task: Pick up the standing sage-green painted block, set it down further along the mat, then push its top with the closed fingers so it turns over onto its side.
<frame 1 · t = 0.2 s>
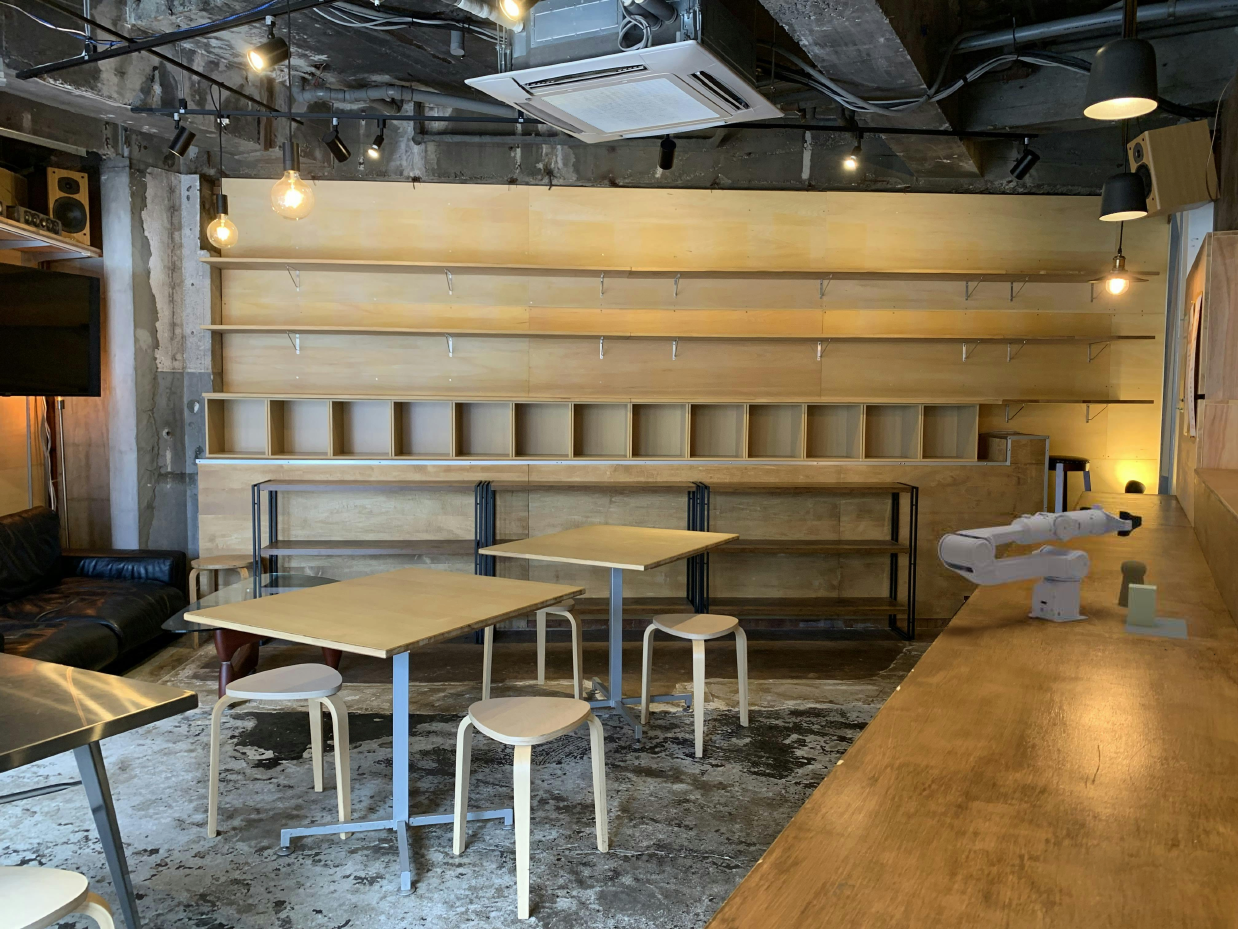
hand: (1124, 519, 203), 21 cm above the table, tool horizontal, fingers open, 7 cm apart
mat: (1155, 628, 188), on the table
block: (1141, 623, 189), point 1 cm above the table, touching mat
cork: (1132, 609, 207), on the table
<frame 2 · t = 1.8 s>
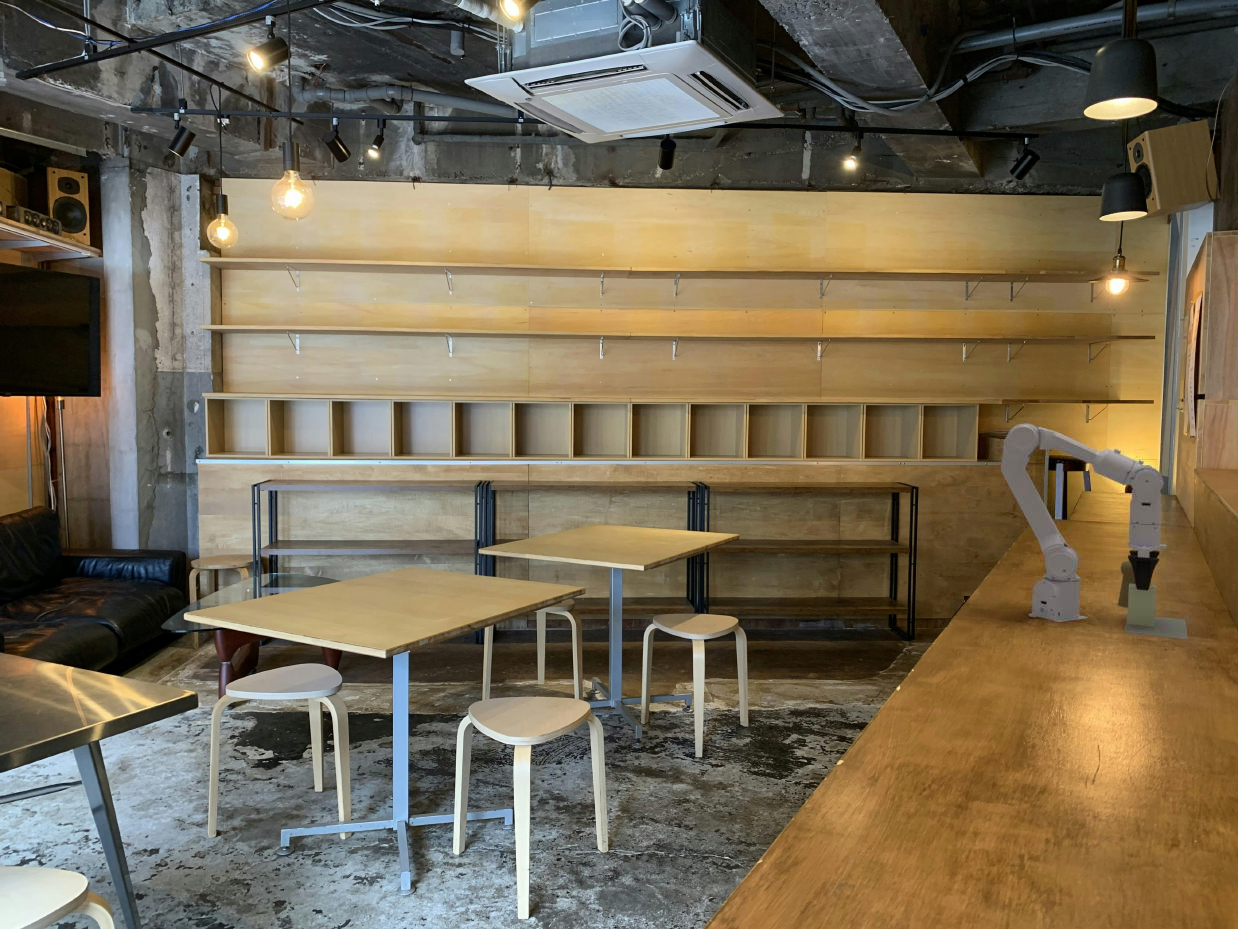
hand: (1142, 586, 189), 9 cm above the table, tool pointing down, fingers open, 7 cm apart
nothing on the table moved.
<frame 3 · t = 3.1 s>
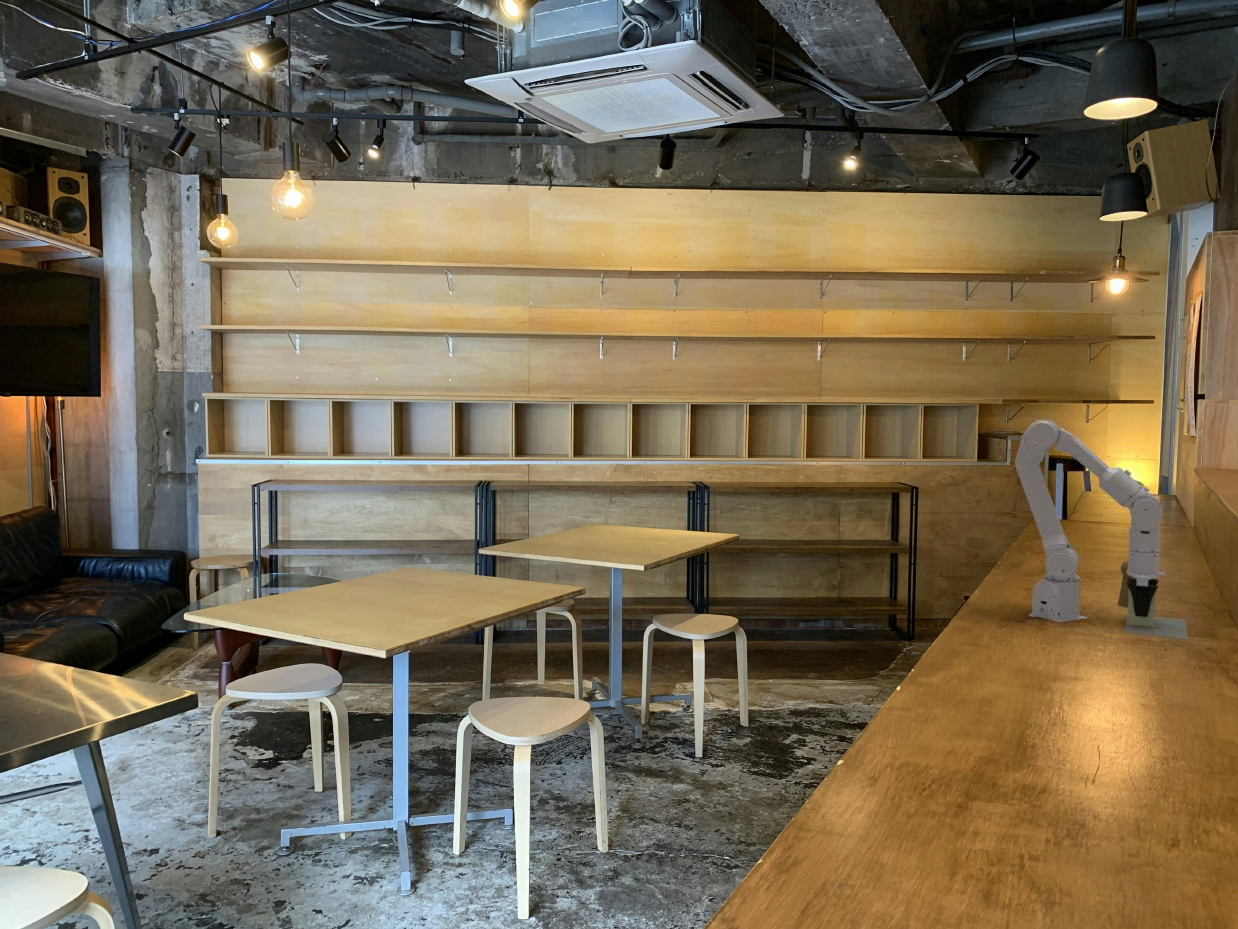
hand: (1141, 614, 189), 3 cm above the table, tool pointing down, fingers closed on block, 4 cm apart
block: (1141, 623, 189), point 1 cm above the table, touching gripper, mat
everything else where it was.
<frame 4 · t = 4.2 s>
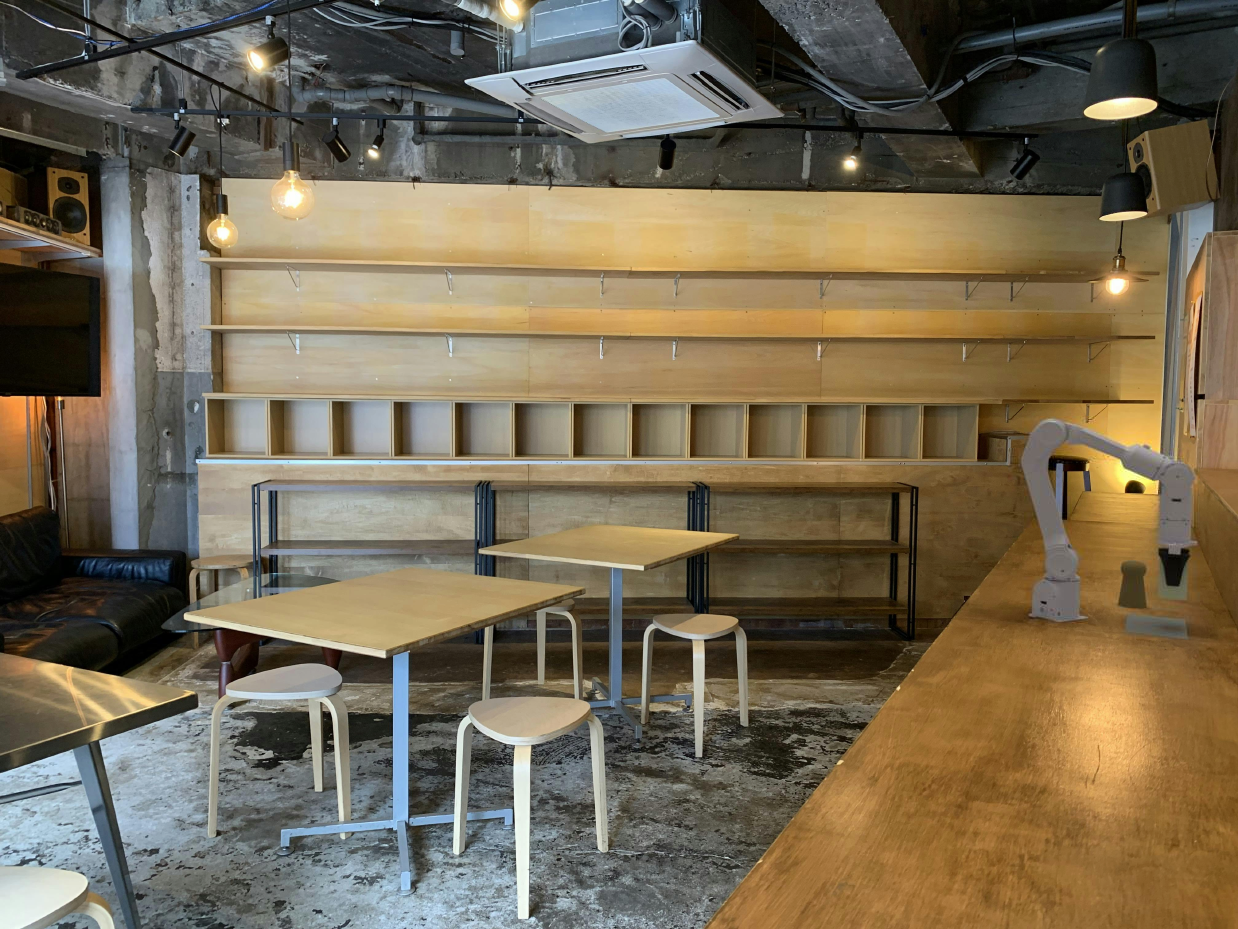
hand: (1172, 584, 186), 10 cm above the table, tool pointing down, fingers closed on block, 4 cm apart
block: (1172, 597, 186), point 7 cm above the table, touching gripper
everything else where it was.
when the fingers open (3 cm above the table, at t = 5.8 s): block stays where it is, resting on mat.
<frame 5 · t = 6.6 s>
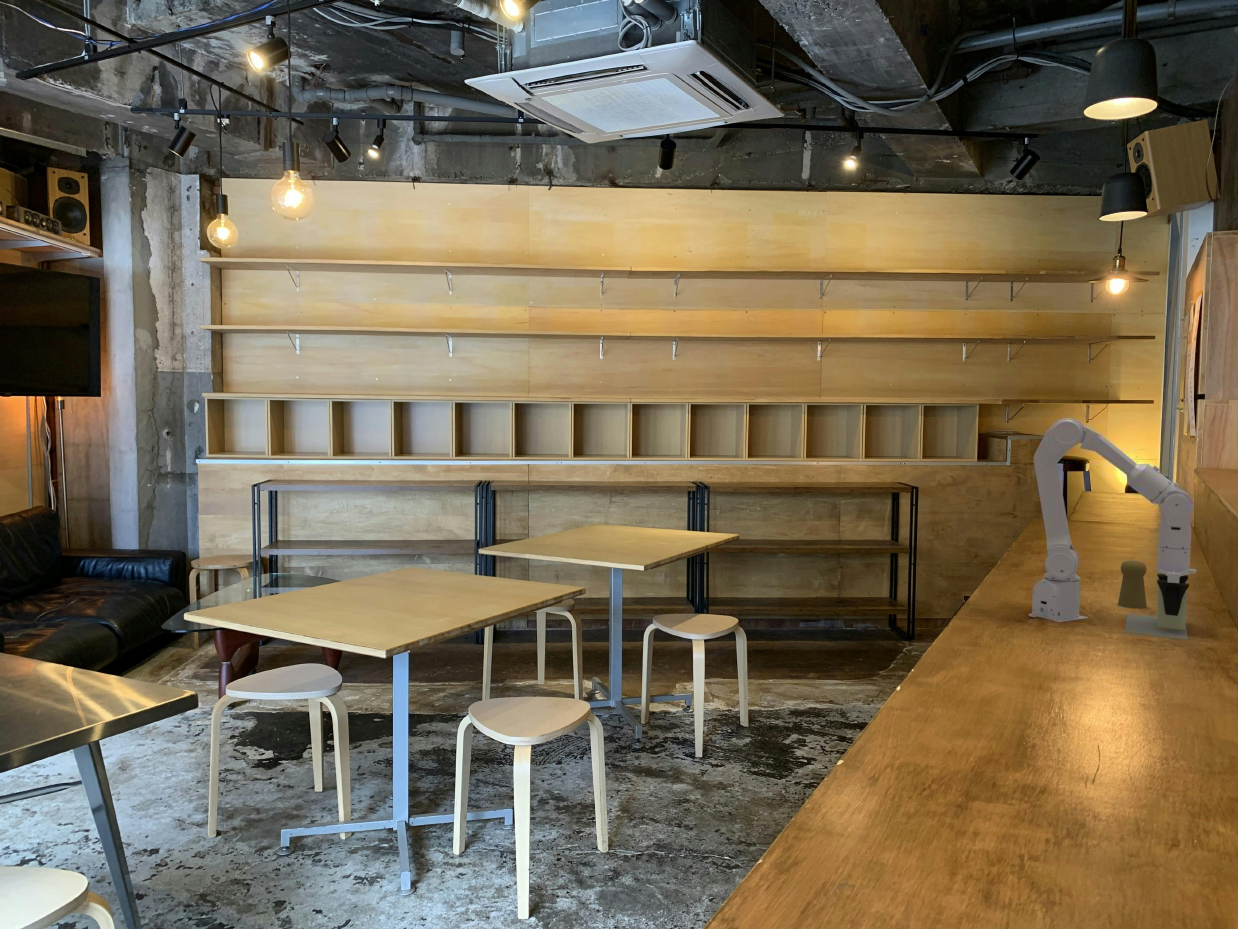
hand: (1171, 611, 186), 4 cm above the table, tool pointing down, fingers open, 7 cm apart
block: (1171, 626, 187), point 1 cm above the table, touching mat
everything else where it was.
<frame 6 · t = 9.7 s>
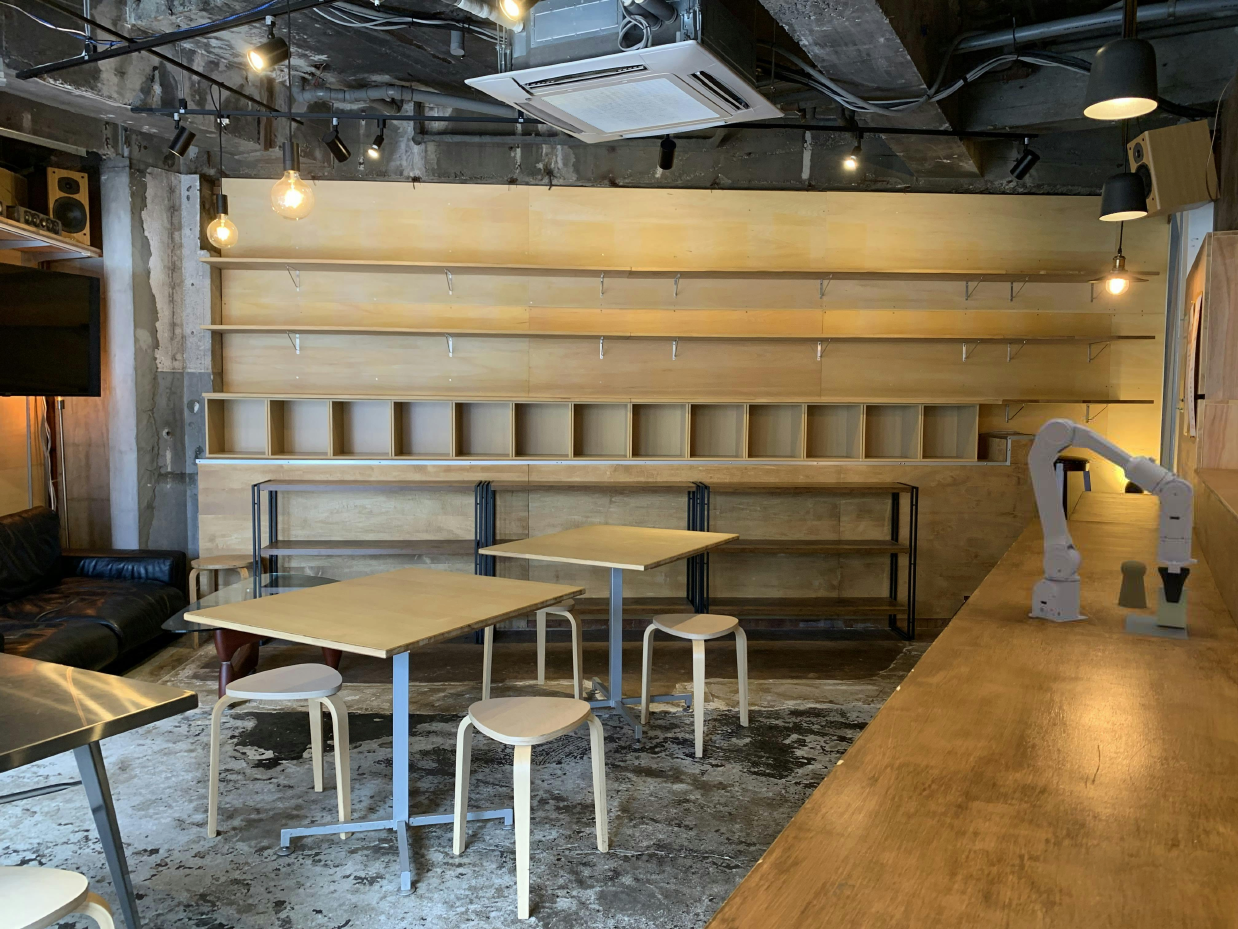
hand: (1172, 602, 184), 6 cm above the table, tool pointing down, fingers closed
block: (1171, 625, 187), point 1 cm above the table, tilted 8°, touching mat
everything else where it was.
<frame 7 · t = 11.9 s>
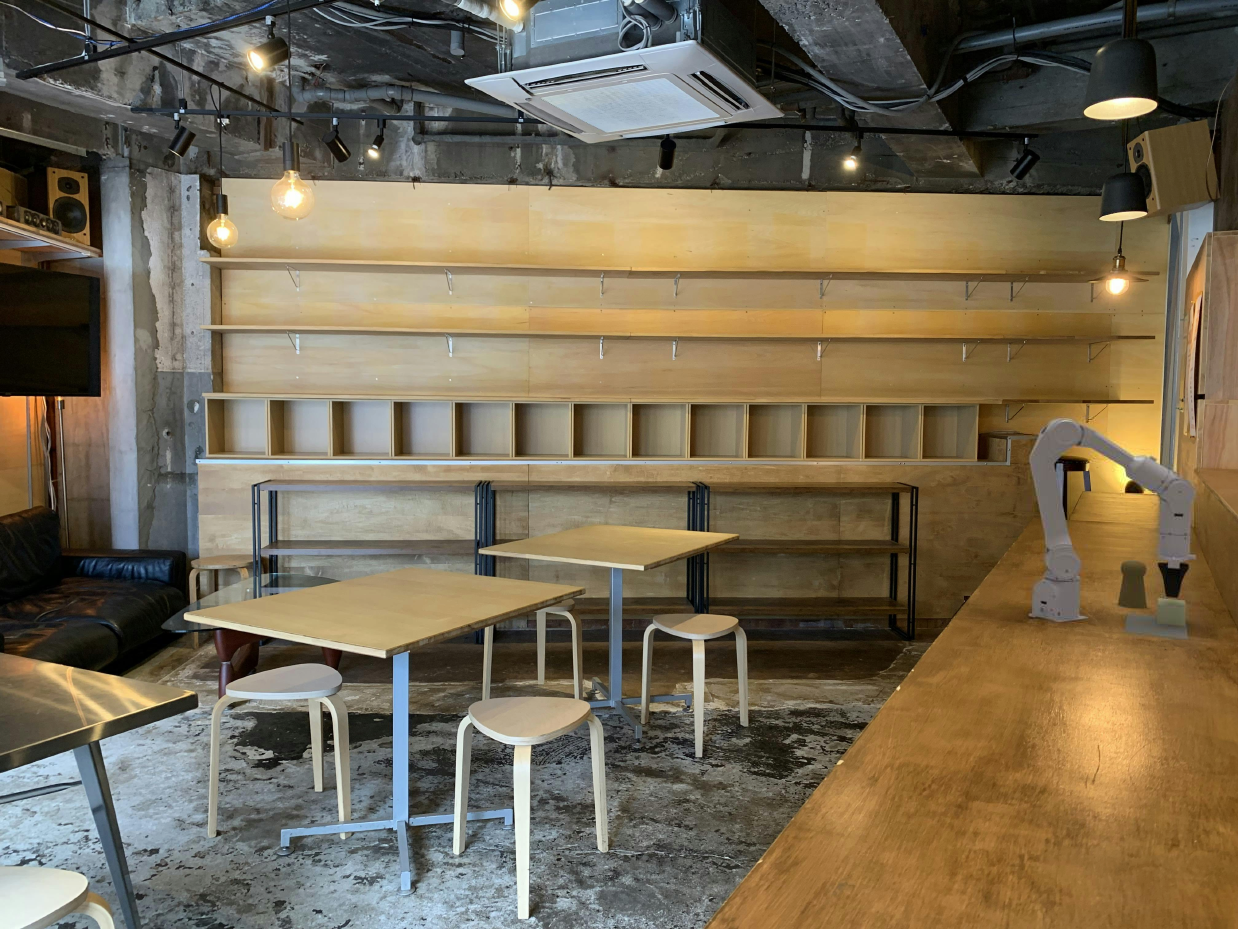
hand: (1171, 597, 190), 6 cm above the table, tool pointing down, fingers closed
block: (1171, 615, 188), point 3 cm above the table, tilted 90°, touching mat
everything else where it was.
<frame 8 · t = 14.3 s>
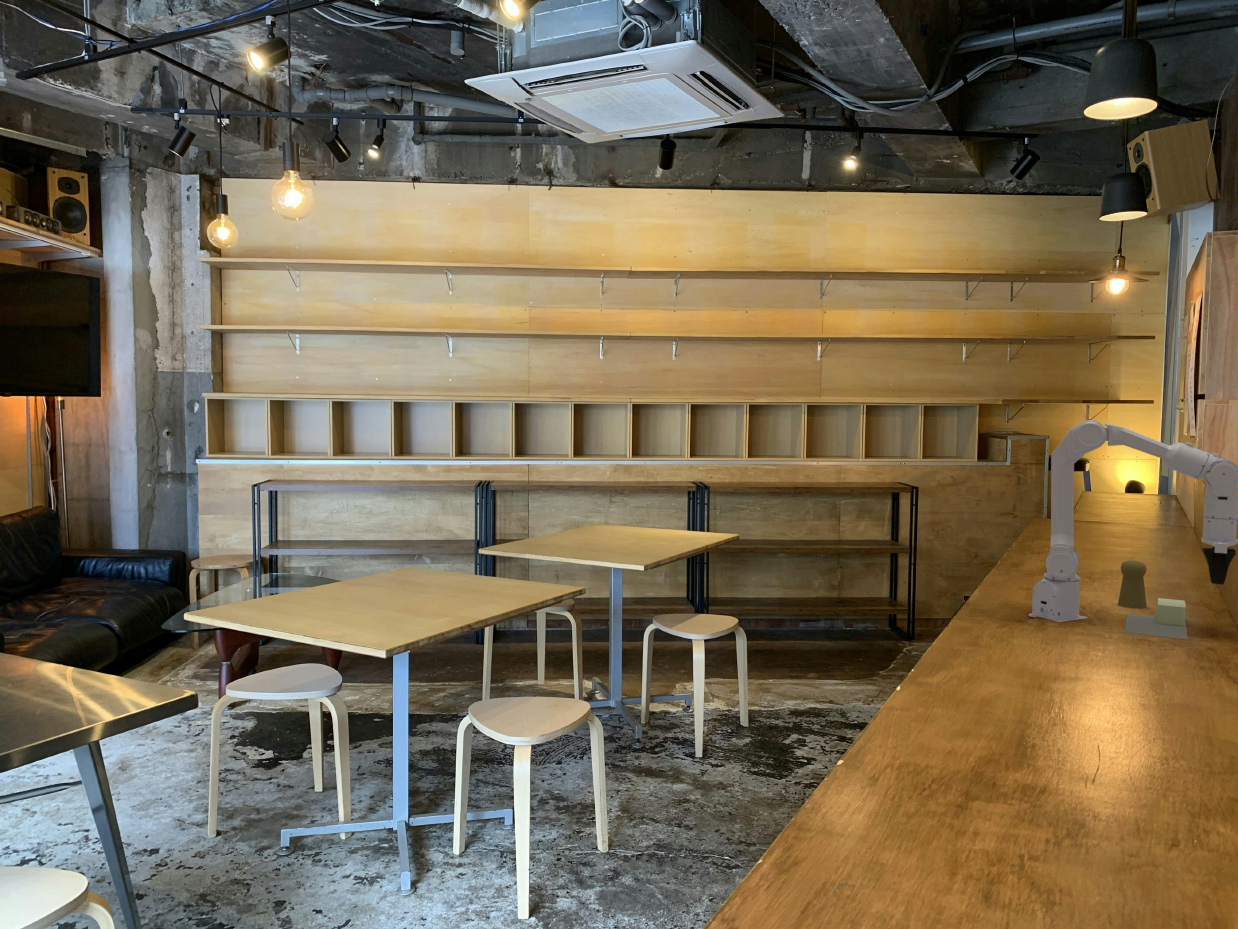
hand: (1217, 583, 183), 10 cm above the table, tool pointing down, fingers closed
nothing on the table moved.
at the end: block tilted 90°; block inside the target area (3.8 cm from its centre), point 2.6 cm above the table; the gripper is holding nothing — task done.
